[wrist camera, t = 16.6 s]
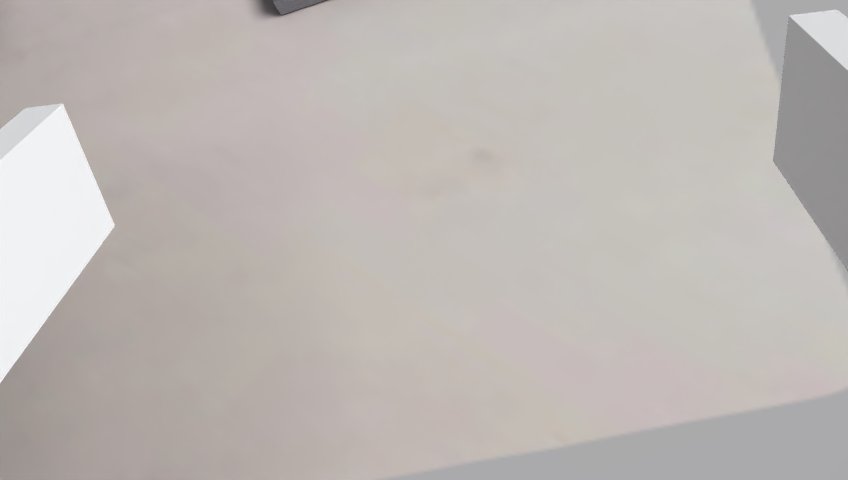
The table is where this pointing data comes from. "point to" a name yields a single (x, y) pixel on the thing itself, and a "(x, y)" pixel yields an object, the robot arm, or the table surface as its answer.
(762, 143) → the table surface
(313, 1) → the riveted socket plate
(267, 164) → the table surface
